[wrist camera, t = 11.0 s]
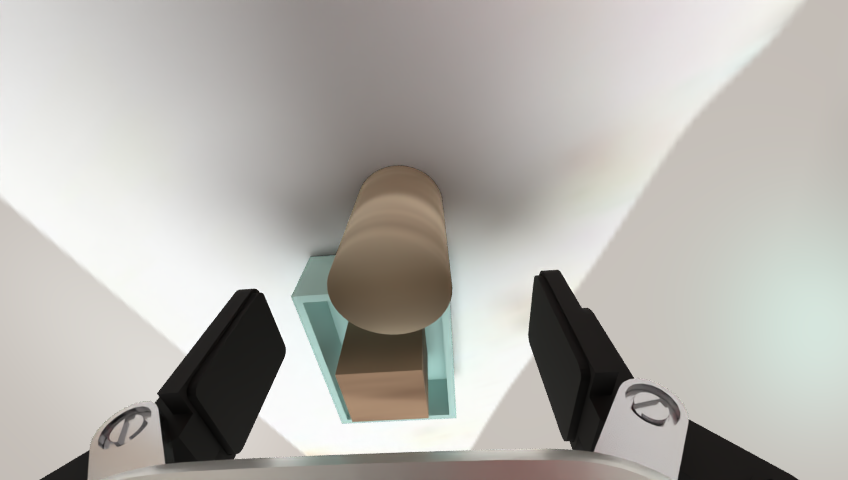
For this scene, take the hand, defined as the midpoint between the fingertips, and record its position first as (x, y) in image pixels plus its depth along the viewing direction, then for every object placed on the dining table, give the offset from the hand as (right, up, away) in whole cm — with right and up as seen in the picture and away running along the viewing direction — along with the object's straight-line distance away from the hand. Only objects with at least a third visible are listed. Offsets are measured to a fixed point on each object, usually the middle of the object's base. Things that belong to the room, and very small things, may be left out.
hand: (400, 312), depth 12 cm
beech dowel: (0, +4, +4) cm, 6 cm away
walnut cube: (-1, -6, +7) cm, 9 cm away
